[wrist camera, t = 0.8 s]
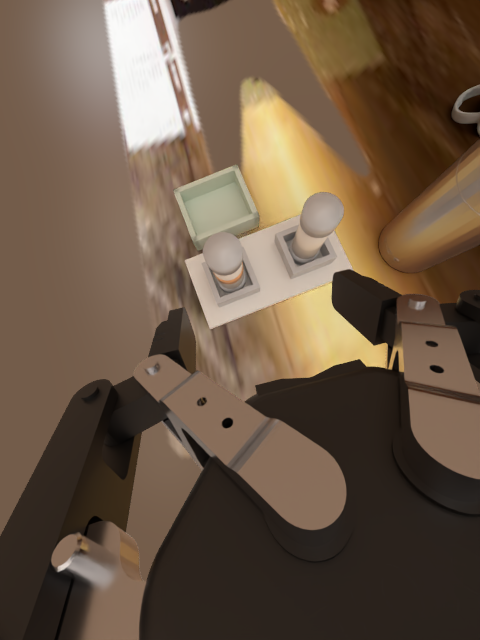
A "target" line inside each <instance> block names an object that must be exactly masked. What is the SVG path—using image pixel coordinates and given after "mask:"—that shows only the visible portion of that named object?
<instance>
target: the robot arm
mask: <svg viewBox="0 0 480 640" xmlns="http://www.w3.org/2000/svg"><path fill="white" fill-rule="evenodd" d="M478 245H480V139H479V140H478V141H477V142H476V143H475V144H474V145H472V146H471V147H470V148H469V149H468V150H467V151H466V152H465V153H464V154H463V155H462V156H461V157H460V158H459V159H458V160H457V161H455V162H454V163H453V164H452V165H451V166H450V167H449V168H448V169H447V170H446V171H445V172H444V173H443V174H441V175H440V176H439V177H438V178H437V179H436V180H435V181H434V182H433V183H432V184H431V185H430V186H428V187H427V188H426V189H425V190H424V191H423V192H422V193H421V194H420V195H419V196H418V197H417V198H416V199H414V200H413V201H412V202H411V203H410V204H409V205H408V206H407V207H406V208H405V209H404V210H403V211H401V212H400V213H399V214H398V215H397V216H396V217H395V218H394V219H393V220H392V221H391V222H390V223H389V224H388V225H387V226H386V227H385V228H384V229H383V230H382V232H381V234H380V237H379V250H380V253H381V256H382V257H383V259H384V260H385V261H386V262H387V263H388V264H389V265H390V266H391V267H393V268H394V269H396V270H399V271H401V272H406V273H415V272H420V271H423V270H425V269H427V268H430V267H432V266H434V265H436V264H438V263H441V262H443V261H445V260H447V259H450V258H452V257H454V256H456V255H458V254H460V253H463V252H465V251H467V250H469V249H471V248H473V247H476V246H478ZM332 304H333V307H334V309H335V310H336V311H337V312H338V313H339V314H341V315H342V316H343V317H344V318H345V319H346V320H347V321H348V322H349V323H350V324H351V325H352V326H354V327H355V328H356V329H357V330H358V331H359V332H360V333H361V334H362V335H363V336H364V337H365V338H367V339H368V340H369V341H370V342H371V343H372V344H373V345H378V344H382V343H387V347H386V365H385V368H381V367H366V366H365V365H364V364H363V362H362V361H361V360H360V359H359V360H355V361H351V362H347V363H343V364H339V365H335V366H333V367H331V368H329V369H327V370H325V371H323V372H321V373H319V374H317V375H315V376H313V377H310V378H293V379H279V380H275V381H271V382H267V383H263V384H259V385H255V387H256V392H257V394H256V395H254V396H252V397H251V398H249V399H248V400H246V401H245V402H244V401H242V400H241V399H239V398H238V397H236V396H235V395H233V394H232V393H231V392H229V391H228V390H226V389H225V388H223V387H222V386H220V385H219V384H217V383H216V382H215V381H213V380H212V379H210V378H209V377H207V376H206V375H204V374H203V373H201V372H200V371H196V340H195V335H194V332H193V329H192V326H191V323H190V320H189V317H188V315H187V312H186V309H185V308H184V307H183V308H179V309H175V310H170V311H169V316H168V320H167V321H164V322H162V323H161V324H160V325H159V326H158V327H157V328H156V331H155V336H154V338H153V342H152V345H151V349H150V353H149V356H148V358H146V359H144V360H143V361H141V362H140V363H139V364H138V365H137V366H136V368H135V370H134V373H133V375H134V376H133V377H131V378H129V379H127V380H125V381H123V382H121V383H119V384H117V385H114V386H113V385H112V384H111V383H110V381H109V380H106V379H102V380H96V381H93V382H91V383H89V384H87V385H86V386H84V387H83V388H81V389H80V390H79V391H78V392H77V393H76V394H75V395H74V396H73V398H72V399H71V401H70V403H69V405H68V407H67V408H66V410H65V413H64V414H63V416H62V418H61V420H60V422H59V424H58V426H57V428H56V430H55V432H54V434H53V436H52V437H51V439H50V441H49V443H48V445H47V447H46V450H45V451H44V453H43V455H42V457H41V459H40V461H39V463H38V465H37V466H36V469H35V470H34V473H33V474H32V476H31V478H30V480H29V482H28V484H27V486H26V488H25V490H24V492H23V493H22V495H21V498H20V499H19V501H18V503H17V505H16V507H15V509H14V511H13V513H12V515H11V517H10V519H9V521H8V522H7V525H6V526H5V528H4V530H3V532H2V534H1V536H0V640H480V392H479V389H478V386H477V384H476V381H478V382H479V383H480V290H469V291H464V292H462V293H461V294H460V296H459V298H458V301H457V303H447V304H439V302H438V301H437V300H436V299H434V298H432V297H429V296H426V295H421V294H406V295H401V294H399V293H397V292H395V291H394V290H392V289H390V288H388V287H386V286H384V285H383V284H381V283H378V282H377V281H375V280H374V279H372V278H369V277H365V276H362V275H360V274H358V273H356V272H355V271H353V270H351V269H347V270H343V271H338V272H335V273H334V274H333V281H332ZM475 380H476V381H475ZM160 421H161V422H162V423H163V424H164V425H165V426H166V427H167V429H168V430H169V431H170V432H171V433H172V434H173V435H174V436H175V438H176V439H177V440H178V441H179V442H180V443H181V444H182V446H183V447H184V448H185V449H186V450H187V452H188V453H189V454H190V456H191V457H192V459H193V460H194V461H195V462H196V464H197V465H198V466H199V468H200V469H201V470H202V472H201V474H200V476H199V478H198V479H197V481H196V483H195V485H194V487H193V489H192V490H191V492H190V494H189V496H188V498H187V500H186V501H185V503H184V505H183V507H182V508H181V510H180V512H179V514H178V516H177V517H176V519H175V521H174V523H173V525H172V527H171V529H170V530H169V532H168V534H167V536H166V537H165V539H164V541H163V543H162V545H161V547H160V548H159V550H158V552H157V554H156V557H155V559H154V561H153V564H152V566H151V569H150V572H149V575H148V578H147V580H146V581H143V580H142V578H141V574H140V568H139V549H138V545H137V543H136V541H135V540H134V539H133V538H132V537H131V536H130V535H128V534H126V527H127V521H128V515H129V508H130V502H131V496H132V490H133V483H134V477H135V471H136V465H137V458H138V452H139V447H140V440H141V434H142V432H143V431H144V430H146V429H148V428H150V427H152V426H153V425H155V424H157V423H159V422H160Z"/></svg>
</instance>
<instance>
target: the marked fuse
mask: <svg viewBox="0 0 480 640" xmlns="http://www.w3.org/2000/svg"><path fill="white" fill-rule="evenodd" d="M203 256H204V259H205V261H206V263H207V265H208V266H209V268H210V269H211V270H212V271H213V273H214V275H215V277H216V279H217V282H218V284H219V286H220V288H221V289H222V290H223V291H224V292H226V293H233V292H235V291H238V290H240V289H243V287H244V286H245V283H246V276H245V271H244V269H243V252H242V245H241V243H240V241H239V239H238V238H237V237H236V236H234V235H233V234H231V233H227V232H219V233H216V234H213V235H212V236H210V237H209V238H208V239H207V241H206V242H205V244H204V247H203Z"/></svg>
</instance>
